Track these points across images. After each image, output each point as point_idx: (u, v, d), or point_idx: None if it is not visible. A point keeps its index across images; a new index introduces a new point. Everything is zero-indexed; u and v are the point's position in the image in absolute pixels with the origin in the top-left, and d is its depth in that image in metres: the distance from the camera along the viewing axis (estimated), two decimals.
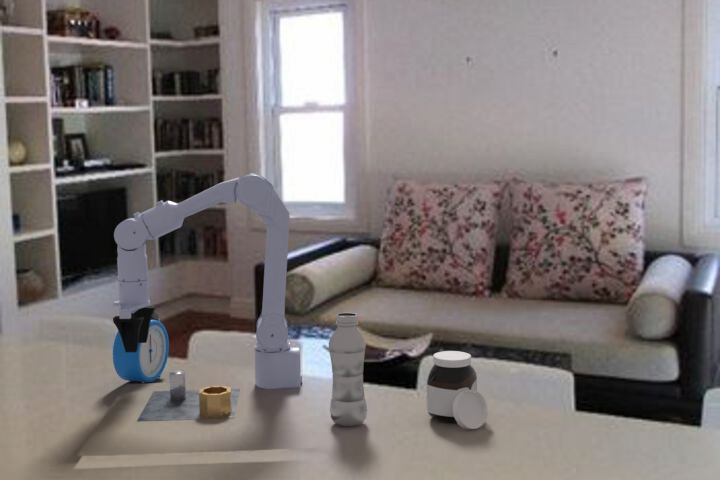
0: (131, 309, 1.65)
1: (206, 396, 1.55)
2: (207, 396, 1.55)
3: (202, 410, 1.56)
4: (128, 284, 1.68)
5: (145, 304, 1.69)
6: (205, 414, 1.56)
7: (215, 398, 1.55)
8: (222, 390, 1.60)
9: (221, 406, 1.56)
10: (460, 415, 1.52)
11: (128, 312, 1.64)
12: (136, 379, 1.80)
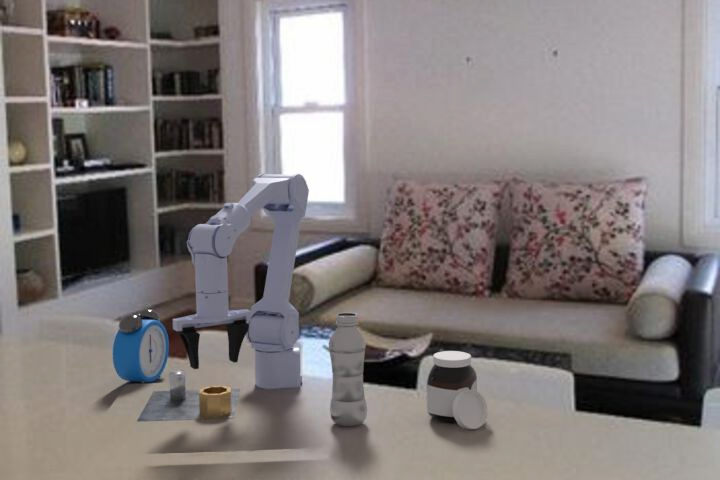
0: (182, 321, 1.52)
1: (206, 396, 1.55)
2: (207, 396, 1.55)
3: (202, 410, 1.56)
4: (196, 294, 1.54)
5: (209, 319, 1.53)
6: (205, 414, 1.56)
7: (215, 398, 1.55)
8: (222, 390, 1.60)
9: (221, 406, 1.56)
10: (460, 415, 1.52)
11: (176, 324, 1.52)
12: (136, 379, 1.80)
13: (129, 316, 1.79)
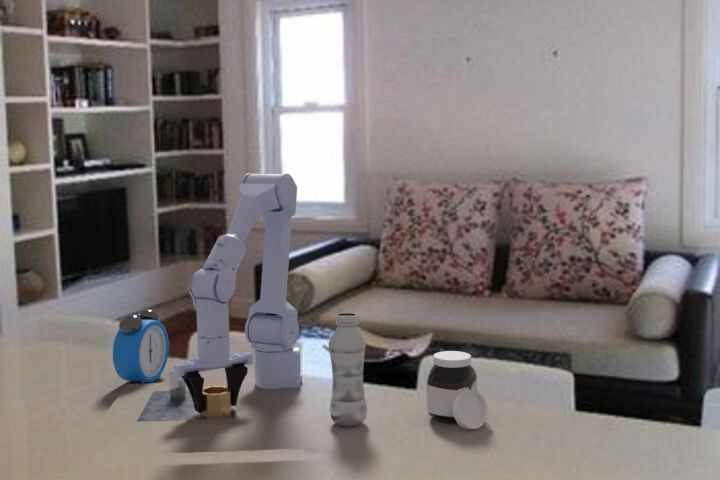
0: (184, 367, 1.53)
1: (206, 396, 1.55)
2: (207, 396, 1.55)
3: None
4: (198, 339, 1.55)
5: (211, 364, 1.54)
6: (205, 414, 1.56)
7: (215, 398, 1.55)
8: (222, 390, 1.60)
9: (221, 406, 1.56)
10: (460, 415, 1.52)
11: (178, 369, 1.53)
12: (136, 379, 1.80)
13: (129, 316, 1.79)
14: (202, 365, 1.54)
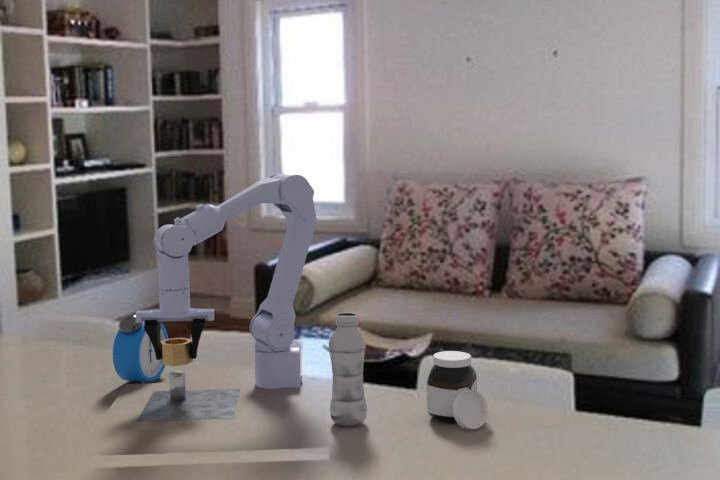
0: (141, 314, 1.63)
1: (162, 345, 1.63)
2: (162, 345, 1.63)
3: (161, 358, 1.65)
4: None
5: (163, 315, 1.62)
6: (162, 362, 1.64)
7: (168, 348, 1.63)
8: None
9: (174, 356, 1.63)
10: (460, 415, 1.52)
11: None
12: (136, 379, 1.80)
13: (129, 316, 1.79)
14: (156, 315, 1.62)
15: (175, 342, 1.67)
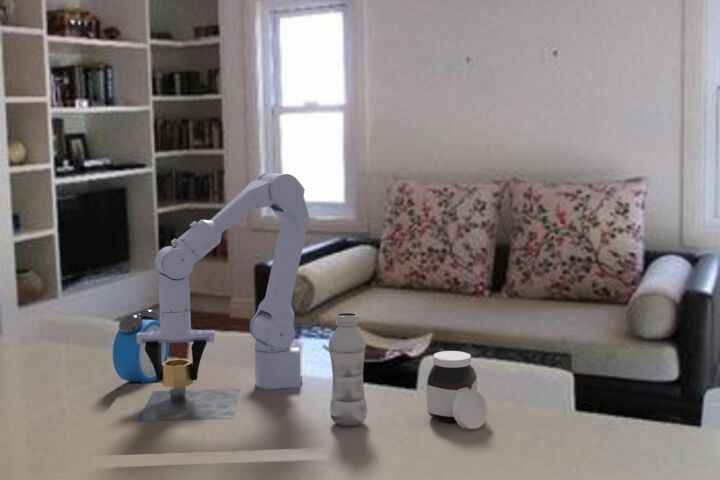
0: (141, 336, 1.64)
1: (162, 367, 1.64)
2: (163, 367, 1.64)
3: (162, 380, 1.65)
4: None
5: (164, 337, 1.62)
6: (163, 384, 1.65)
7: (169, 370, 1.63)
8: None
9: (175, 378, 1.63)
10: (460, 415, 1.52)
11: None
12: (136, 379, 1.80)
13: (129, 316, 1.79)
14: (157, 336, 1.63)
15: (176, 363, 1.68)
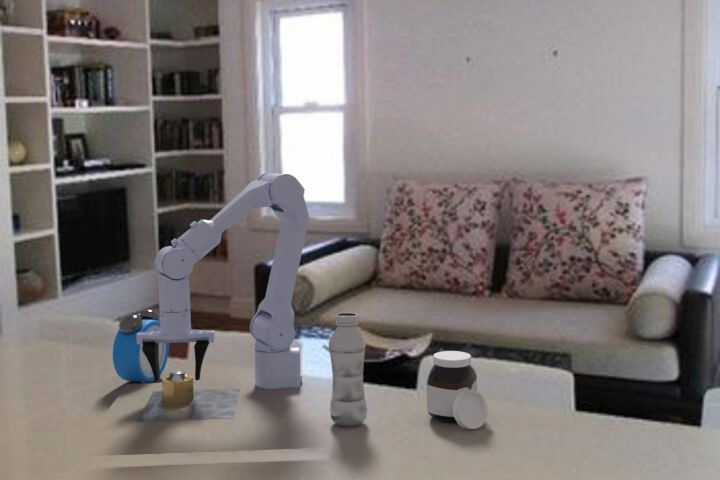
0: (141, 336, 1.64)
1: (163, 382, 1.64)
2: (163, 382, 1.64)
3: (162, 395, 1.66)
4: None
5: (164, 337, 1.62)
6: (163, 399, 1.65)
7: (169, 385, 1.64)
8: (188, 379, 1.67)
9: (175, 393, 1.63)
10: (460, 415, 1.52)
11: None
12: (136, 379, 1.80)
13: (129, 316, 1.79)
14: (157, 336, 1.63)
15: None
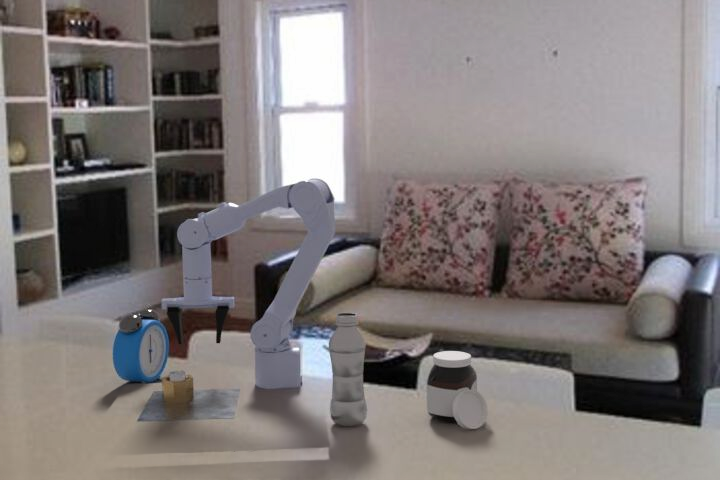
0: (166, 301, 1.75)
1: (163, 382, 1.64)
2: (163, 382, 1.64)
3: (162, 395, 1.66)
4: None
5: (188, 302, 1.74)
6: (163, 399, 1.65)
7: (169, 385, 1.64)
8: (188, 379, 1.67)
9: (175, 393, 1.63)
10: (460, 415, 1.52)
11: None
12: (136, 379, 1.80)
13: (129, 316, 1.79)
14: (181, 302, 1.74)
15: None
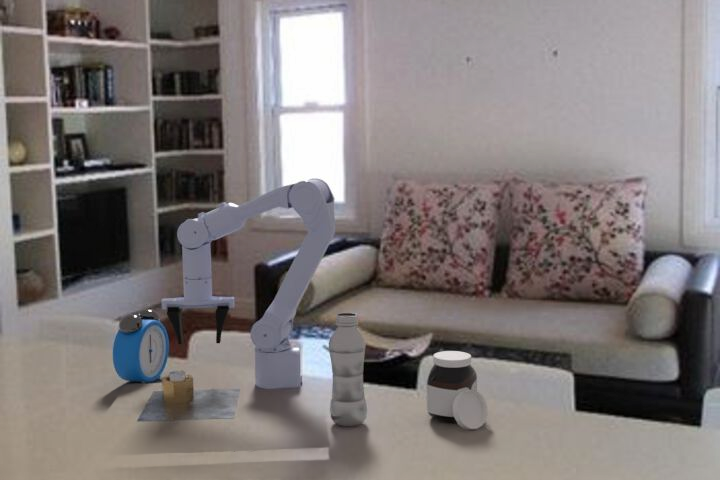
0: (166, 301, 1.75)
1: (163, 382, 1.64)
2: (163, 382, 1.64)
3: (162, 395, 1.66)
4: None
5: (188, 302, 1.74)
6: (163, 399, 1.65)
7: (169, 385, 1.64)
8: (188, 379, 1.67)
9: (175, 393, 1.63)
10: (460, 415, 1.52)
11: None
12: (136, 379, 1.80)
13: (129, 316, 1.79)
14: (181, 302, 1.74)
15: None
